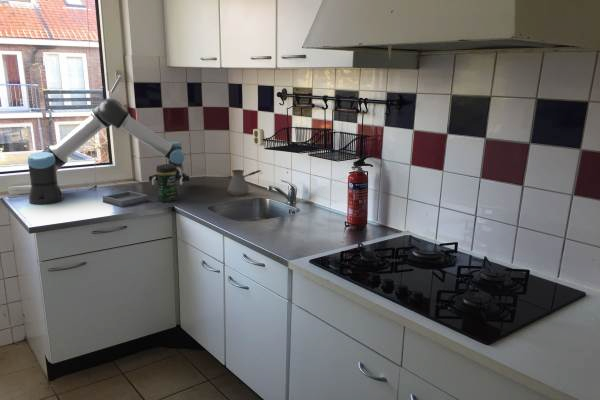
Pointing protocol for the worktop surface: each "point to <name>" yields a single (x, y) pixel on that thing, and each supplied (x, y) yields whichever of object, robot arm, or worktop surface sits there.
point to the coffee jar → (166, 182)
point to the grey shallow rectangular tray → (125, 198)
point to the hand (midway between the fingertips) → (166, 182)
